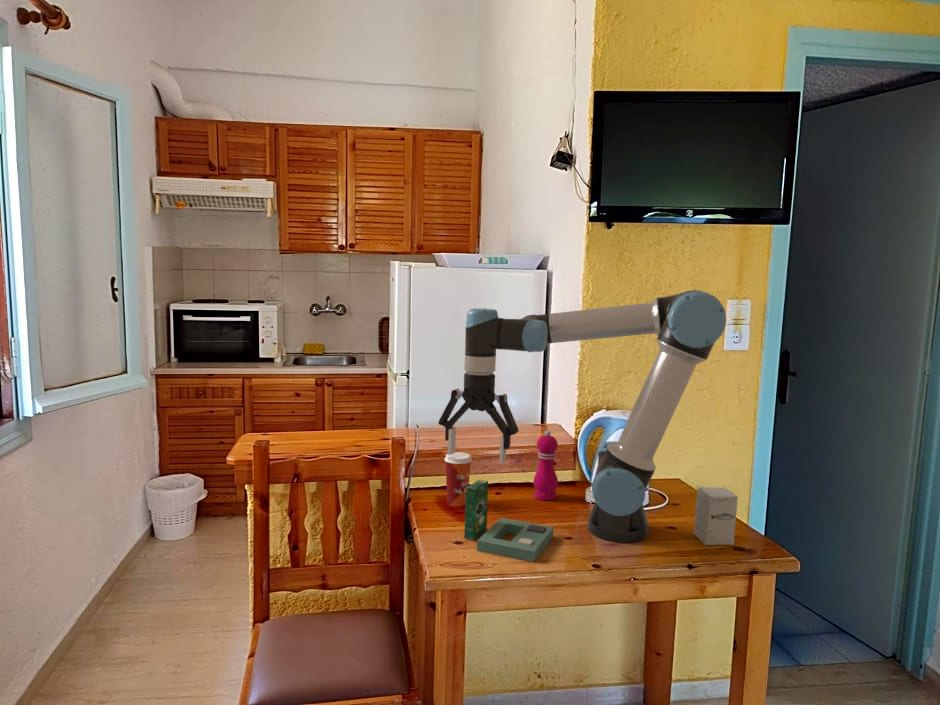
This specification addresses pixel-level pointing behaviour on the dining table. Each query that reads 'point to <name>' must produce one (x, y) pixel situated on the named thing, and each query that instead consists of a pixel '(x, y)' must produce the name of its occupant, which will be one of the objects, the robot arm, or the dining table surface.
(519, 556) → the socket board
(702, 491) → the supplement box
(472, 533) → the coffee box
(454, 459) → the paper cup
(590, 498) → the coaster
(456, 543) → the dining table surface
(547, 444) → the pepper mill
